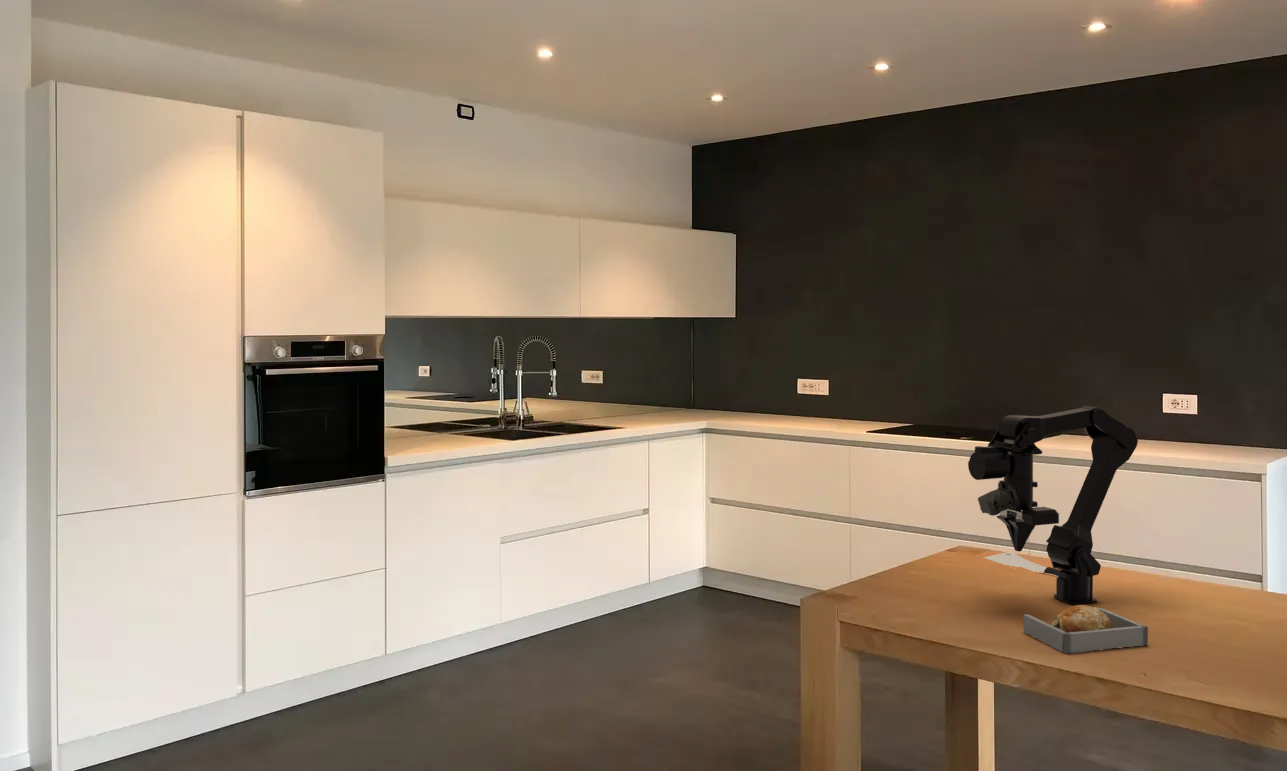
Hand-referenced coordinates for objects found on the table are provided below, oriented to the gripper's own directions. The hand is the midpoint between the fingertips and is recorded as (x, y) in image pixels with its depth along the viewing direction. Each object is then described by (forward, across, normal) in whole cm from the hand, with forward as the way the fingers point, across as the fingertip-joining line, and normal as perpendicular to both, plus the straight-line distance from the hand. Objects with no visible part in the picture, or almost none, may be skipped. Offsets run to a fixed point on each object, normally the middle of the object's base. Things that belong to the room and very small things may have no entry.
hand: (1018, 550), depth 213 cm
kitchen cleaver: (+13, -25, +23) cm, 36 cm away
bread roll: (+12, +21, -1) cm, 24 cm away
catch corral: (+12, +22, -2) cm, 25 cm away
